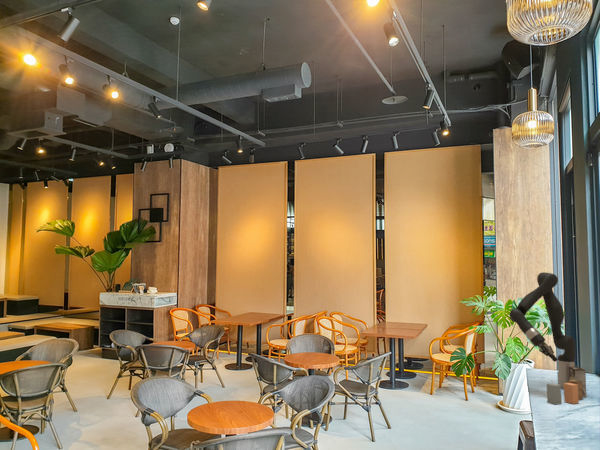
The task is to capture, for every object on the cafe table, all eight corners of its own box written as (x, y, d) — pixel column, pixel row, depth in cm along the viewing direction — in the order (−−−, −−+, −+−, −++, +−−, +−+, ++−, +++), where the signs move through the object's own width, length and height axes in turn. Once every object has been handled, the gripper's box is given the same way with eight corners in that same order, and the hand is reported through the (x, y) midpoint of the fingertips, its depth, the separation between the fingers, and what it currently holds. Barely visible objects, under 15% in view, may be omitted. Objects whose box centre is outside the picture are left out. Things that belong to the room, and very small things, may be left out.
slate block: (547, 402, 256) (546, 383, 257) (553, 401, 258) (552, 383, 260) (555, 404, 252) (555, 385, 253) (561, 403, 254) (560, 385, 255)
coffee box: (569, 393, 277) (568, 366, 279) (581, 393, 276) (579, 366, 278) (575, 397, 268) (574, 369, 270) (587, 397, 267) (585, 369, 269)
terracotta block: (564, 401, 258) (563, 383, 259) (569, 400, 260) (569, 382, 261) (573, 403, 253) (572, 385, 254) (578, 402, 256) (577, 384, 257)
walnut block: (569, 398, 265) (568, 380, 266) (574, 397, 268) (573, 379, 269) (577, 400, 261) (576, 382, 262) (582, 399, 263) (581, 381, 264)
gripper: (534, 333, 273) (556, 358, 263) (543, 332, 281) (565, 355, 271) (525, 341, 277) (546, 365, 266) (535, 339, 285) (556, 363, 275)
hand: (556, 360), depth 269 cm, fingers closed
